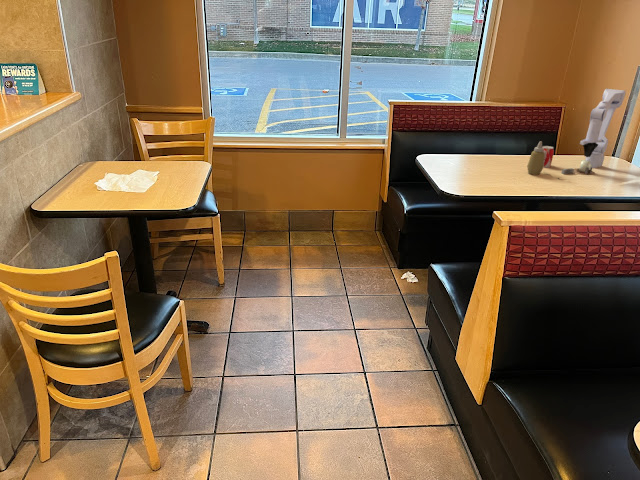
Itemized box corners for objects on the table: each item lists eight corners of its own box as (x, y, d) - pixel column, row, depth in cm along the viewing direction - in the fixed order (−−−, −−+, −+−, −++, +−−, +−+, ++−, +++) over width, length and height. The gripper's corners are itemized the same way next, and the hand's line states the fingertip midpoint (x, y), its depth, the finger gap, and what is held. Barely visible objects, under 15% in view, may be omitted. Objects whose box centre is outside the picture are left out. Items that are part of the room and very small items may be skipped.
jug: (576, 170, 261) (579, 160, 258) (583, 170, 262) (586, 159, 259) (585, 174, 255) (588, 163, 253) (591, 173, 257) (594, 162, 254)
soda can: (551, 169, 266) (556, 149, 261) (538, 169, 267) (542, 148, 262) (548, 166, 272) (553, 145, 267) (535, 165, 273) (540, 145, 268)
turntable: (582, 169, 266) (584, 161, 265) (599, 175, 256) (602, 168, 254) (554, 172, 261) (555, 164, 259) (570, 179, 251) (572, 171, 249)
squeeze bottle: (541, 172, 261) (549, 140, 253) (541, 176, 255) (548, 144, 247) (526, 170, 264) (533, 138, 256) (525, 174, 258) (532, 142, 250)
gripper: (591, 134, 244) (584, 159, 249) (609, 131, 249) (602, 156, 255) (579, 131, 249) (573, 156, 255) (598, 129, 255) (591, 153, 261)
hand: (587, 156), depth 255 cm, fingers closed
